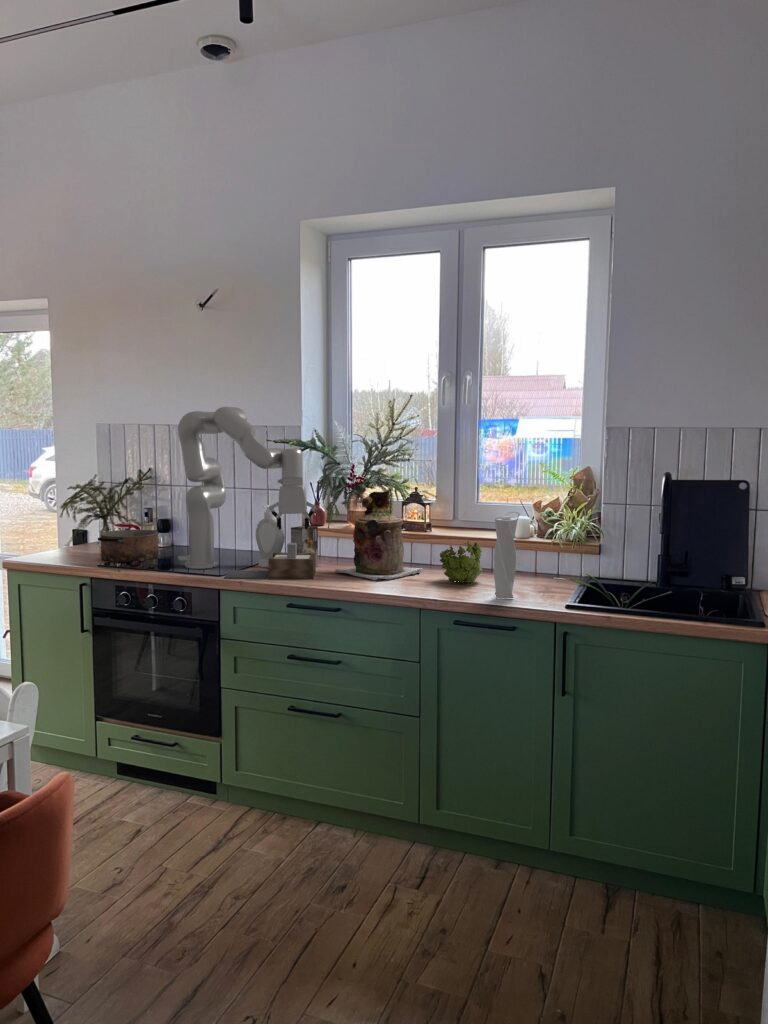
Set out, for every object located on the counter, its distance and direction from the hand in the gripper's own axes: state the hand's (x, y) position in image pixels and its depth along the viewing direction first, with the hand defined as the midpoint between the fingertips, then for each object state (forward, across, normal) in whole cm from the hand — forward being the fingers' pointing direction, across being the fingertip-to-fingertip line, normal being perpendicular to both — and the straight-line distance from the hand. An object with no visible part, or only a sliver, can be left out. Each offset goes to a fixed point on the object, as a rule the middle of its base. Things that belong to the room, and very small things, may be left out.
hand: (293, 529), depth 279 cm
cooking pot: (+16, -71, +36) cm, 81 cm away
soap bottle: (+17, -12, +17) cm, 27 cm away
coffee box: (+17, +2, +17) cm, 25 cm away
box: (+17, 0, 0) cm, 17 cm away
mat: (+17, -17, 0) cm, 24 cm away
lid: (+12, -1, 0) cm, 12 cm away
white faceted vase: (+19, +72, -36) cm, 82 cm away
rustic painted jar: (+18, +31, +5) cm, 37 cm away
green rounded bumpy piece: (+19, +60, -10) cm, 64 cm away
